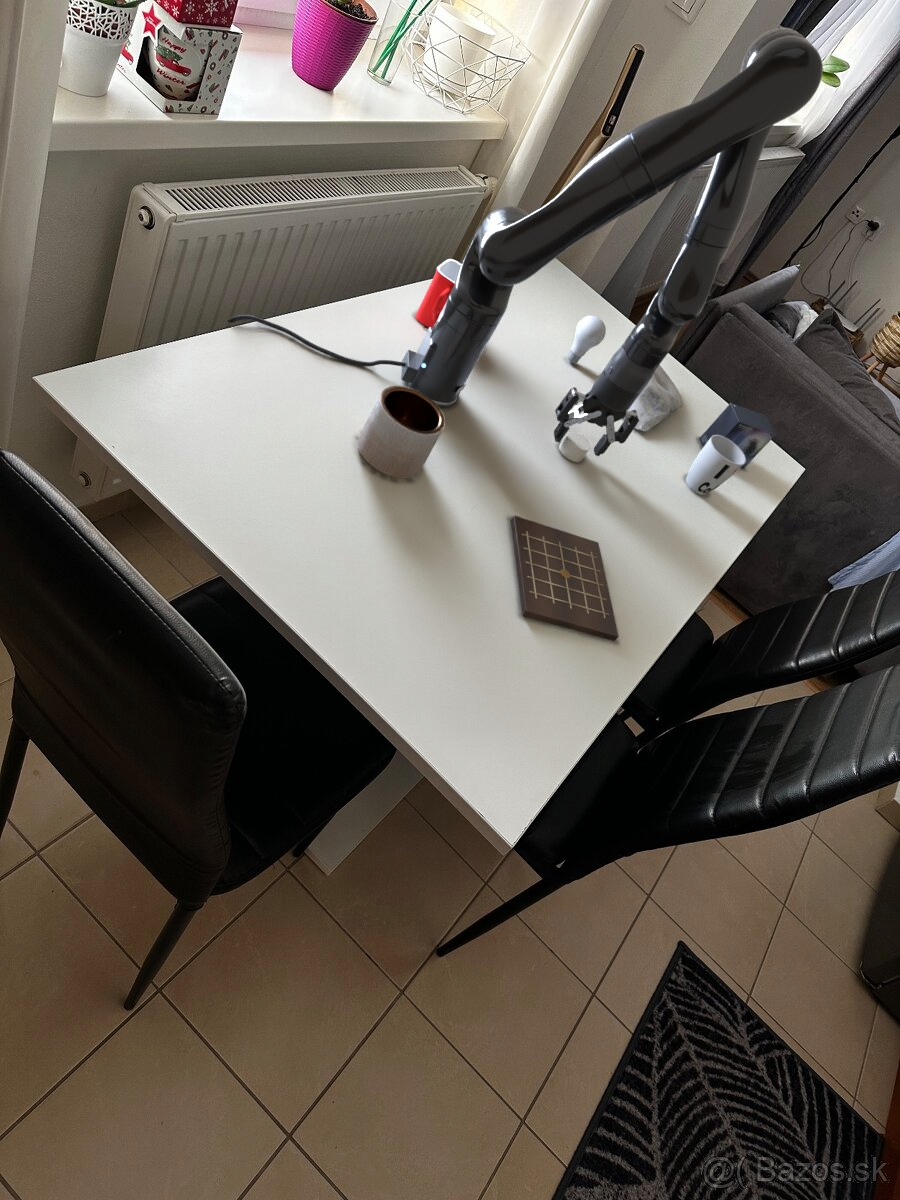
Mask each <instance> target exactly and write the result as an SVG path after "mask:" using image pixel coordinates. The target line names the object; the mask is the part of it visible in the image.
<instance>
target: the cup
mask: <svg viewBox="0 0 900 1200" xmlns="http://www.w3.org/2000/svg"><path fill="white" fill-rule="evenodd" d="M745 462H746V458H745V455H744V454H743V452H742V451H741V449H740V448H739V447H738V446H737V445H736V444H735V443H733V442H732V441H731V440H729V439H727V438H725V437H723V436H720V435H713V436H712V437H711V438H710V439H709V441H708V442H707V443H706V445H705V446H704V447H703V446H702V448H701V450H700V451H699V453H698V454H697V456H696V458H695V459H694V461H693V462H692V464H691V466H690V467H689V469H688V470H689V471H688V473H687V476H686V478H685V483H686V485H687V486H688V488H689V489H690V490H691V491H692V492H693V493H695V494H698V495H701V496H706V495H707V494H708V493H711V492H713V491H714V490H716V489H717V488H719V487H720V486H721V485H722V484H724V483H725V482H727V481H728V480H729V479H730V478H732V476H734V475H735V473H737V471H738V470H739V469H741V468H740V467H741V466H742V465H743V464H744V463H745Z"/></svg>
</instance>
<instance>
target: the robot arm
mask: <svg viewBox="0 0 900 1200" xmlns="http://www.w3.org/2000/svg"><path fill="white" fill-rule="evenodd" d="M823 71H824V63H823V60H822V57H821V54H820V53H819V51H818V49H817V48H816V47H815V46H814V45H813V44H812V43H811V42H810V41H809V40H808V39H807V38H806V37H805V36H804V35H802V34H801V33H800V32H798V31H796V30H794V29H793V28H789V27H776V28H773V29H769V30H767V31H766V32H764V33H762V34H761V35H759V37H757V38H756V39H754V41H753V42H752V43H751V45H750V46H749V48H748V49H747V51H746V52H745V54H744V56H743V59H742V63H741V66H740V70H739V73H738V74H737V75H735V76H734V77H733V78H731V79H730V80H728V81H727V82H726V83H724V84H723V85H721V86H720V87H719V88H717V89H715V91H713V92H711V93H710V94H708V95H706V96H704V97H703V98H701V99H699V100H697V101H695V102H692V103H690V104H687V105H685V106H682V107H679V108H676V109H673V110H670V111H668V112H665V113H662V114H660V115H658V116H655V117H652V118H650V119H648V120H646V121H644V122H642V123H640V124H638V125H636V126H634V127H633V128H632V129H630V130H629V131H626V132H625V133H624V134H622V135H620V136H618V138H616V139H615V140H613V141H612V142H610V143H609V144H606V146H604V147H603V148H601V150H599V151H597V153H595V154H594V155H593V157H591V158H590V159H589V161H588V162H586V164H584V165H583V166H582V167H581V168H580V170H579V171H578V172H577V173H576V174H575V175H574V176H573V177H572V178H571V180H570V181H569V182H568V183H567V185H565V187H563V188H562V190H561V191H560V192H558V194H557V195H555V196H554V198H552V199H551V200H549V201H548V202H547V203H545V204H544V205H543V206H541V207H540V208H538V209H536V210H535V211H533V212H531V213H530V214H529V213H528V212H527V211H526V210H524V209H522V208H520V207H517V206H513V205H504V206H501V207H498V208H496V209H494V210H492V212H489V214H487V216H486V217H485V218H484V219H483V220H482V221H481V224H480V225H479V227H478V229H477V230H476V232H475V234H474V236H473V237H474V238H472V241H471V243H470V245H469V248H468V249H467V252H466V254H465V256H464V258H463V260H462V262H461V263H460V264H461V267H460V269H459V272H458V275H457V278H456V281H455V284H454V287H453V289H452V291H451V293H450V295H449V297H448V299H447V301H446V303H445V305H444V307H443V309H442V311H441V313H440V315H439V317H438V319H437V321H436V323H435V325H434V327H429V328H427V331H426V333H425V335H424V337H423V339H422V341H421V343H420V345H419V347H418V349H417V351H416V352H415V351H413V350H411V349H407V350H406V352H405V355H404V357H403V359H402V360H401V361H399V360H398V361H397V360H390V359H378V360H374V361H361V360H357V359H352V358H348V357H346V356H344V355H340V354H338V353H336V352H333V351H330V350H328V349H326V348H324V347H321V346H319V345H317V344H315V343H313V342H311V341H309V340H307V339H306V338H304V337H302V336H301V335H299V334H297V333H295V332H294V331H292V330H290V329H288V328H286V327H284V326H282V325H278V324H276V323H274V322H271V321H268V320H266V319H263V318H261V317H258V316H254V315H251V314H241V315H240V314H239V315H235V316H232V317H230V318H228V319H227V320H226V321H227V322H228V323H230V324H231V323H235V322H239V321H253V322H257V323H259V324H261V325H264V326H266V327H270V328H272V329H275V330H277V331H280V332H283V333H284V334H287V335H289V336H290V337H292V338H294V339H296V340H297V341H299V342H301V343H302V344H304V345H306V346H308V347H309V348H311V349H313V350H316V351H317V352H320V353H323V354H325V355H327V356H330V357H332V358H334V359H337V360H339V361H342V362H345V363H348V364H351V365H355V366H360V367H361V366H362V367H375V366H379V365H390V366H398V367H401V381H404V382H407V387H409V388H412V389H415V390H417V391H419V392H421V393H423V394H424V395H426V396H428V397H429V398H430V399H431V400H433V401H434V402H435V403H436V404H437V405H438V407H450V406H452V405H454V404H455V403H456V401H457V400H458V398H459V396H460V393H461V391H463V390H464V389H465V387H466V385H467V383H466V382H467V380H468V379H469V377H470V375H471V373H472V372H473V370H474V368H475V367H476V365H477V364H478V361H479V359H480V357H481V356H482V355H483V353H484V350H485V349H486V347H487V345H488V343H489V342H490V340H491V338H492V336H493V335H494V332H495V331H496V329H497V328H498V326H499V324H500V322H501V320H502V319H503V317H504V315H505V313H506V311H507V309H508V306H509V302H510V298H511V294H512V292H513V289H514V286H516V285H518V284H521V283H524V282H525V281H526V280H528V279H529V278H531V277H532V276H534V275H535V274H537V273H538V272H539V271H540V270H542V269H543V268H544V267H546V266H547V265H548V264H549V263H551V262H552V261H553V260H555V259H557V257H559V256H560V255H562V253H564V252H565V251H567V250H568V249H569V248H571V247H572V246H574V245H575V244H576V243H578V242H579V241H582V240H583V239H585V238H586V237H588V236H589V235H591V234H593V233H595V232H596V231H598V230H599V229H601V228H603V227H605V226H606V225H608V224H610V223H611V222H612V221H614V220H615V219H617V218H619V217H621V216H622V215H624V214H626V213H627V212H629V211H631V210H633V209H634V208H636V207H638V206H640V205H641V204H642V203H644V202H646V201H648V200H649V199H651V198H653V197H654V196H657V194H658V193H661V192H662V191H663V190H665V189H666V188H668V187H669V186H671V185H672V184H673V183H675V182H677V181H679V180H680V179H682V178H684V177H685V176H686V175H688V174H690V173H692V172H693V171H694V170H696V169H697V168H699V167H701V166H702V165H704V164H706V162H708V161H710V160H711V159H712V158H714V159H713V162H712V165H711V167H710V170H709V172H708V173H707V177H706V180H705V181H704V185H703V187H702V190H701V191H700V194H699V196H698V199H697V202H696V203H695V206H694V209H693V211H692V214H691V216H690V219H689V221H688V224H687V226H686V228H685V231H684V233H683V236H682V239H681V243H680V246H679V250H678V252H677V255H676V258H675V260H674V262H673V264H672V266H671V269H670V271H669V273H668V275H667V276H666V277H665V279H664V280H663V281H662V284H660V286H659V288H658V290H657V291H656V293H655V295H654V296H653V298H652V300H651V301H650V303H649V305H648V307H647V309H646V310H645V312H644V314H643V315H642V317H641V318H640V320H639V321H638V322H637V323H636V325H635V326H634V327H633V329H632V330H631V331H630V333H629V335H628V336H627V337H626V339H625V340H624V342H623V343H622V345H621V346H620V347H619V348H618V349H617V350H616V351H615V353H614V354H612V357H610V359H609V361H608V362H607V364H606V365H605V367H604V368H603V370H602V371H601V373H600V375H599V376H598V377H597V378H596V380H595V382H594V383H593V385H592V387H591V389H590V390H589V391H588V392H587V393H585V394H584V393H582V392H580V391H578V388H577V387H575V386H573V387H571V388H570V389H569V390H568V392H567V393H566V394H565V396H564V398H563V399H562V400H561V401H560V403H559V404H558V406H557V407H556V408H555V410H554V413H555V415H556V420H557V422H559V423H558V424H557V426H556V427H555V428H554V430H553V437H554V441H555V442H556V443H559V444H560V443H561V442H562V440H563V439H564V437H565V436H566V435H567V433H568V432H569V430H570V427H571V426H574V425H576V424H579V425H580V424H582V423H585V422H587V423H589V424H593V425H596V426H597V427H600V428H603V427H605V433H604V434H603V435H602V436H601V438H600V439H598V441H597V443H596V444H595V446H594V447H593V454H594V456H596V457H600V456H601V455H603V454H605V453H606V451H607V450H608V449H609V447H610V446H611V445H612V444H613V443H615V442H618V443H619V444H624V443H625V442H626V441H627V440H628V438H629V437H630V435H631V433H632V432H633V431H634V429H636V428H635V426H636V425H637V423H638V422H639V418H638V415H637V411H636V410H631V411H627V410H628V409H629V408H630V407H631V405H632V404H633V403H634V401H635V400H636V399H637V397H638V396H639V395H640V393H641V392H642V390H643V389H644V388H645V387H646V385H647V384H648V382H649V381H650V379H651V378H652V376H653V374H654V372H655V370H656V369H657V367H658V366H659V365H660V366H661V363H662V362H663V361H664V359H665V358H666V356H667V355H668V354H669V353H670V351H671V349H672V347H674V346H673V345H674V343H675V341H676V339H677V337H678V334H679V333H680V331H681V330H682V329H683V327H684V326H685V325H687V324H690V323H692V322H693V321H694V320H695V319H696V318H697V317H699V316H700V314H701V313H702V311H703V309H704V307H705V304H706V302H707V300H708V297H709V295H710V292H711V289H712V286H713V285H714V281H715V278H716V276H717V273H718V270H719V267H720V266H721V263H722V261H723V259H724V258H725V256H726V255H727V252H728V250H729V248H730V246H731V244H732V242H733V239H734V238H735V235H736V233H737V230H738V228H739V226H740V224H741V222H742V219H743V216H744V213H745V212H746V208H747V205H748V203H749V199H750V195H751V192H752V189H753V184H754V180H755V177H756V176H755V175H756V173H757V168H758V165H759V162H760V159H761V156H762V153H763V150H764V148H765V145H766V142H767V140H768V138H769V135H770V133H771V131H772V129H773V128H774V125H776V124H778V123H780V122H782V121H784V120H786V119H787V118H789V117H791V116H793V115H795V114H796V113H797V112H800V110H801V109H803V108H804V107H805V106H806V105H807V104H808V103H809V102H810V101H811V100H812V99H813V97H814V95H815V94H816V92H817V91H818V89H819V87H820V84H821V82H822V79H823V73H824V72H823ZM579 403H580V404H579ZM581 413H583V414H581ZM620 420H623V422H622V424H621V425H620V426H619V428H618V429H617V431H615V430H616V428H615V423H616V422H619V421H620Z"/></svg>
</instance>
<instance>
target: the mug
mask: <svg viewBox="0 0 900 1200" xmlns="http://www.w3.org/2000/svg"><path fill="white" fill-rule="evenodd" d="M461 264H462V263H461V262H459V261H457V260H455V259H452V258H448V259H446V260H445V261H443V262H442V263H440V264H439V265H438V266H437V267H436V271H435V274H434V276H433V278H432V280H431V282H430V284H429V286H428V288H427V290H426V292H425V295H424V297H423V298H422V300H421V303H420V305H419V307H418V309H417V311H416V314H415V319H416V320H417V321H418V322H419V323H421V325H424V326H425V327H426V328H427V329H429V327H434V325H435V323H436V321H437V319H438V317H439V315H440V313H441V311H442V309H443V307H444V305H445V303H446V301H447V299H448V297H449V295H450V293H451V291H452V289H453V287H454V284H455V281H456V278H457V275H458V272H459V269H460V267H461Z"/></svg>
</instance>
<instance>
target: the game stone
mask: <svg viewBox="0 0 900 1200" xmlns="http://www.w3.org/2000/svg"><path fill="white" fill-rule="evenodd" d="M591 446H592V445H591V443H590V441H589V440H588V438H587V437H586V436H584V434H582V433H580V432H578V431H576V430H575V431H574V430H573V431H572V430H570V431H567V433H566V434H565V436H564V437H563V438H562V440H561V441H560V443H559V444H558V449H559V452H560V454H561V455H563V457H565V458H566V459H567V460H569V461H571V462H575V463H581V461H583V459H584V458H585V457H586V455H587V453H588V452H589V451H590V449H591Z"/></svg>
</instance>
